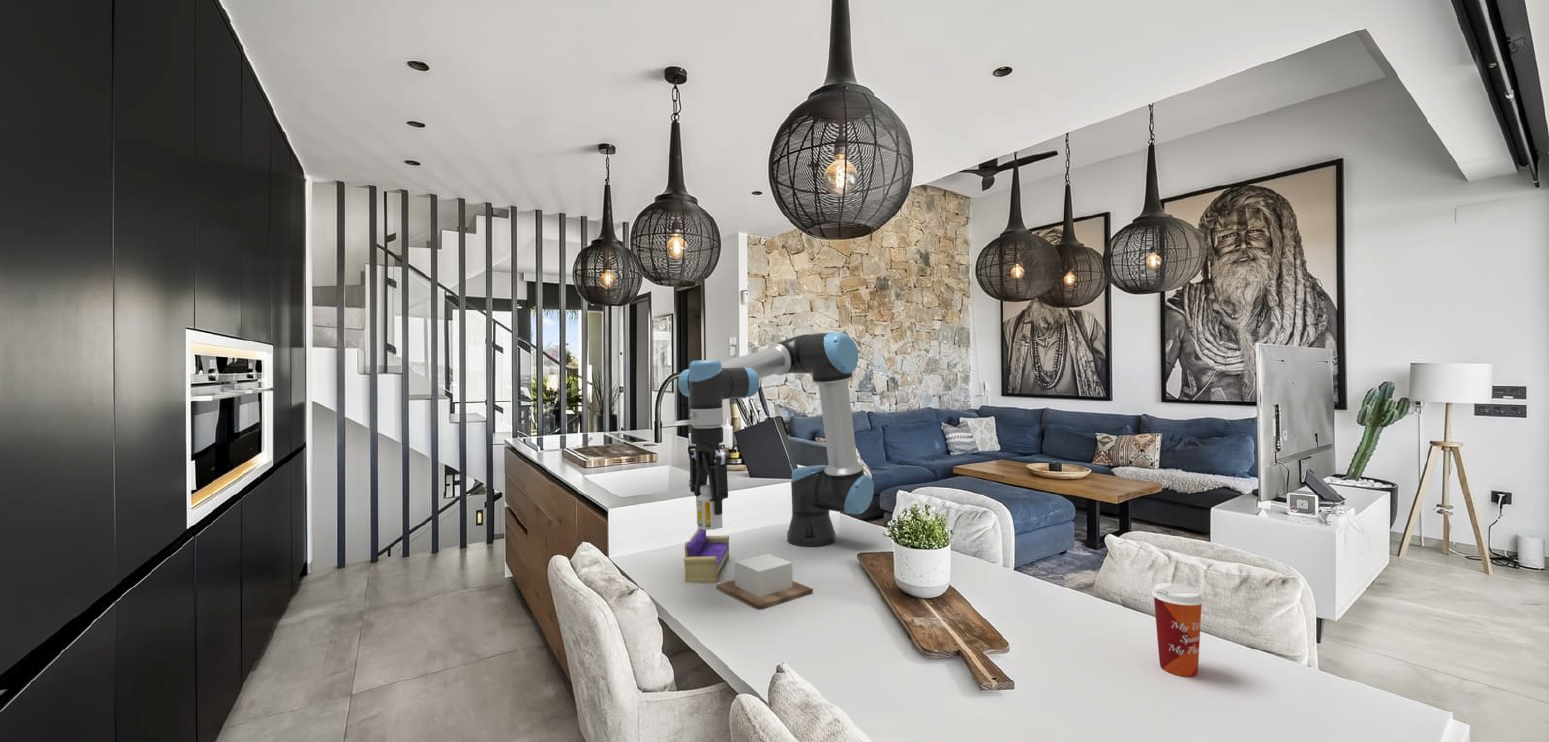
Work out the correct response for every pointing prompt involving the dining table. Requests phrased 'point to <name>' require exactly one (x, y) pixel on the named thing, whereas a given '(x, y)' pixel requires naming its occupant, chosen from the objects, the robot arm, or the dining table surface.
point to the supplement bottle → (704, 508)
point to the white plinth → (763, 575)
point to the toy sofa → (705, 556)
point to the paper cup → (1178, 627)
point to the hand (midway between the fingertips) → (709, 525)
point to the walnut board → (767, 600)
